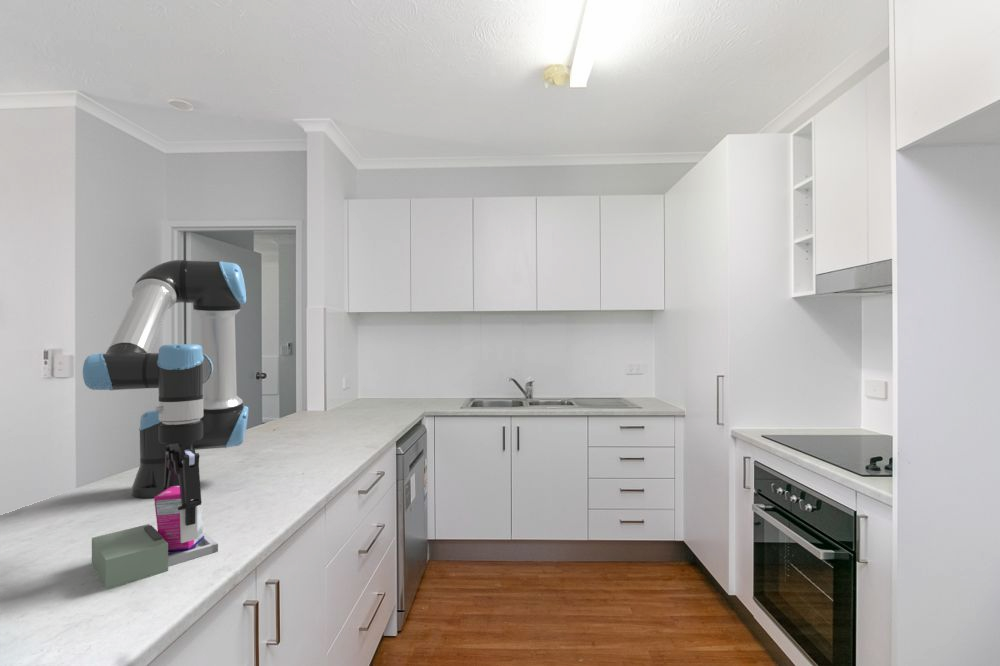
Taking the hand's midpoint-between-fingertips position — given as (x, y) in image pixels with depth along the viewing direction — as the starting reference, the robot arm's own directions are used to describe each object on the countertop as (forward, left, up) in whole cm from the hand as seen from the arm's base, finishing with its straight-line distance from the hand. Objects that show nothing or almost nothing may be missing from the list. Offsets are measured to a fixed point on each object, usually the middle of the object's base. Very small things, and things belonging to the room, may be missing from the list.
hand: (181, 533), depth 98 cm
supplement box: (0, 0, -3) cm, 3 cm away
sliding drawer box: (0, -4, -4) cm, 5 cm away
